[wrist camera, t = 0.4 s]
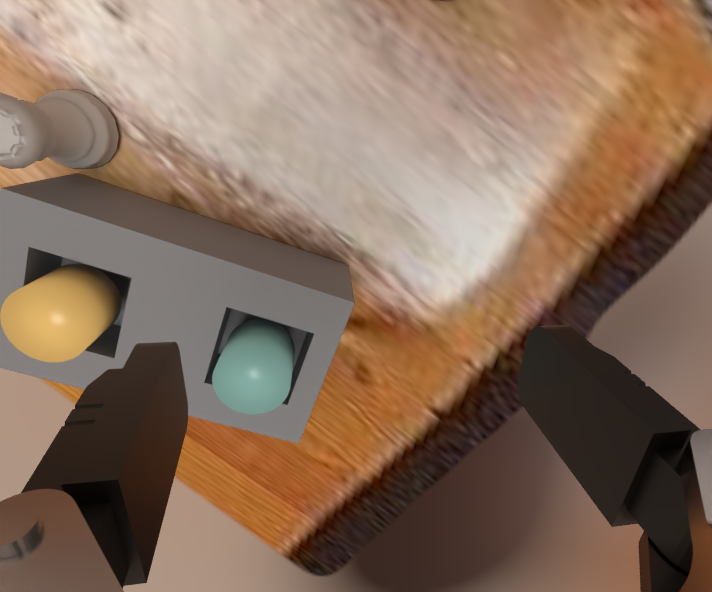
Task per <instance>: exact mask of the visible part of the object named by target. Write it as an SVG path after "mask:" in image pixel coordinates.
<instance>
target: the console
mask: <svg viewBox="0 0 712 592" xmlns="http://www.w3.org/2000/svg"><path fill="white" fill-rule="evenodd" d="M68 264H84V265H88V266H91V267H94V268H96V269H98V270H100V271H102V272H103V273H105V274H106V275H107V276H108V277H109V278H110V279H111V280H112V281H113V282H114V283H115V285H116V287H117V288H118V290H119V293H120V296H121V302H122V306H121V311H120V314H119V316H118V318H117V320H116V321H115V322H114V323H113V324H112V325H111V326H110V327H109V328H108V329H107V330H106V331H104V332H103V333H102V334H101V335H100V336H99V337H98V338H97V339H96V340H95V341H94V342H93V343H92V344H91V345H89V346H88V347H87V348H86V349H85V350H84V351H83V352H82V353H81V354H80V355H78V356H77V357H75V358H73V359H71V360H68V361H64V362H45V361H40V360H37V359H34V358H32V357H29V356H28V355H26V354H24V353H23V352H21V351H20V350H18V349H17V348H16V347H15V346H14V345H13V344H12V343H11V342H10V341H9V339H8V338H7V336H6V335H5V333H4V331H3V329H2V325H1V320H0V368H3V369H7V370H11V371H15V372H19V373H23V374H26V375H30V376H34V377H38V378H42V379H46V380H50V381H54V382H58V383H62V384H66V385H70V386H74V387H78V388H82V389H86V387H87V386H88V385H89V384H90V383H92V382H93V381H94V380H95V379H97V378H98V377H99V376H100V375H102V374H103V373H104V372H105V371H107V370H108V369H121V368H123V367H124V365H125V363H126V361H127V359H128V358H129V356H130V354H131V352H132V350H133V348H134V347H135V345H136V344H138V343H157V342H176V343H177V344H178V347H179V351H180V356H181V363H182V369H183V375H184V382H185V388H186V394H187V401H188V416H192V417H196V418H200V419H204V420H207V421H211V422H215V423H219V424H223V425H227V426H231V427H235V428H239V429H243V430H247V431H251V432H255V433H259V434H263V435H266V436H270V437H274V438H278V439H282V440H286V441H290V442H294V443H298V444H299V441H300V439H301V436H302V434H303V431H304V429H305V426H306V424H307V421H308V419H309V416H310V414H311V411H312V409H313V406H314V404H315V401H316V399H317V396H318V394H319V391H320V389H321V386H322V384H323V381H324V379H325V376H326V374H327V371H328V369H329V366H330V364H331V361H332V359H333V356H334V354H335V351H336V349H337V346H338V344H339V341H340V339H341V336H342V334H343V331H344V329H345V326H346V324H347V321H348V319H349V316H350V314H351V311H352V309H353V306H354V304H355V301H354V295H353V289H352V283H351V277H350V271H349V266H348V265H346V264H343V263H340V262H337V261H334V260H331V259H329V258H326V257H323V256H320V255H317V254H314V253H311V252H308V251H305V250H302V249H299V248H296V247H293V246H290V245H287V244H284V243H281V242H278V241H276V240H273V239H270V238H267V237H264V236H261V235H258V234H255V233H252V232H249V231H246V230H243V229H240V228H237V227H234V226H231V225H228V224H225V223H223V222H220V221H217V220H214V219H211V218H208V217H205V216H202V215H199V214H196V213H193V212H190V211H187V210H184V209H181V208H178V207H175V206H172V205H170V204H167V203H164V202H161V201H158V200H155V199H152V198H149V197H146V196H143V195H140V194H137V193H134V192H131V191H128V190H125V189H122V188H119V187H116V186H114V185H111V184H108V183H105V182H102V181H99V180H96V179H93V178H90V177H87V176H84V175H81V174H78V173H76V174H71V175H66V176H61V177H56V178H51V179H45V180H40V181H35V182H30V183H25V184H20V185H14V186H9V187H4V188H1V192H0V312H1V308H2V305H3V303H4V301H5V300H6V298H7V297H8V296H9V295H10V294H12V293H13V292H15V291H16V290H18V289H20V288H22V287H24V286H25V285H27V284H29V283H31V282H33V281H35V280H37V279H39V278H40V277H42V276H44V275H46V274H48V273H50V272H52V271H54V270H55V269H57V268H59V267H61V266H64V265H68ZM255 319H264V320H269V321H272V322H275V323H277V324H279V325H280V326H282V327H283V328H284V329H286V330H287V332H288V333H289V334H290V336H291V337H292V339H293V342H294V346H295V355H294V363H293V371H292V379H291V386H290V391H289V394H288V396H287V397H286V399H285V400H284V402H283V403H282V404H281V405H280V406H278V407H277V408H275V409H274V410H272V411H269V412H267V413H263V414H255V415H251V414H243V413H240V412H237V411H234V410H232V409H230V408H229V407H227V406H226V405H225V404H223V403H222V402H221V401H220V399H219V398H218V397H217V395H216V393H215V391H214V388H213V384H212V375H213V371H214V369H215V366H216V364H217V362H218V360H219V357H220V355H221V353H222V351H223V349H224V346H225V344H226V342H227V340H228V338H229V336H230V334H231V332H232V331H233V330H234V329H235V328H236V327H237V326H239V325H240V324H242V323H244V322H246V321H249V320H255Z"/></svg>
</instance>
